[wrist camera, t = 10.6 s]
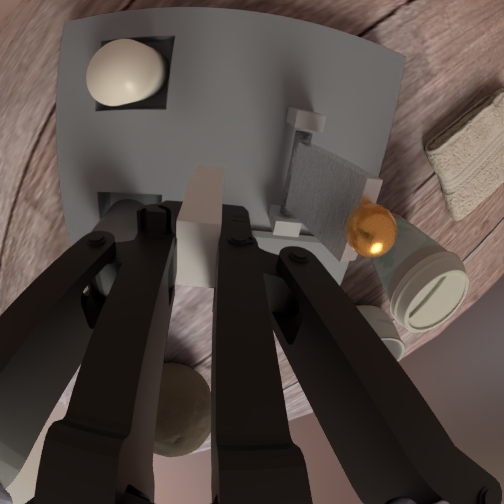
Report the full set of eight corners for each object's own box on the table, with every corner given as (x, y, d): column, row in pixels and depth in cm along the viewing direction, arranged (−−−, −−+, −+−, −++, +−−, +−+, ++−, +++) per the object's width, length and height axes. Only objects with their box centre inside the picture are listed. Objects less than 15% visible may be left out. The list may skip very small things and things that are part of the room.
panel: (88, 246, 29) (63, 285, 23) (85, 27, 16) (45, 18, 10) (328, 266, 32) (347, 307, 27) (383, 57, 20) (426, 55, 14)
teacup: (381, 332, 41) (398, 371, 34) (317, 352, 42) (329, 394, 35) (386, 266, 33) (415, 309, 27) (306, 289, 34) (322, 339, 28)
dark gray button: (109, 244, 24) (87, 282, 20) (103, 197, 22) (76, 229, 17) (156, 248, 25) (142, 288, 20) (155, 200, 22) (136, 233, 18)
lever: (267, 209, 22) (347, 299, 14) (282, 127, 18) (392, 181, 10) (299, 209, 23) (382, 290, 15) (316, 132, 19) (426, 186, 11)
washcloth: (517, 151, 25) (531, 159, 22) (447, 219, 31) (460, 230, 28) (497, 80, 20) (513, 84, 17) (417, 146, 25) (433, 154, 23)
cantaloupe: (161, 331, 37) (145, 430, 24) (232, 371, 43) (236, 457, 31) (115, 364, 41) (98, 442, 29) (179, 397, 48) (175, 468, 35)
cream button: (113, 101, 19) (84, 108, 15) (118, 49, 17) (89, 43, 12) (166, 100, 20) (148, 105, 15) (172, 46, 18) (156, 36, 13)
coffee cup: (406, 188, 28) (474, 247, 18) (419, 243, 32) (471, 306, 22) (342, 224, 30) (391, 299, 20) (364, 275, 34) (404, 348, 24)
